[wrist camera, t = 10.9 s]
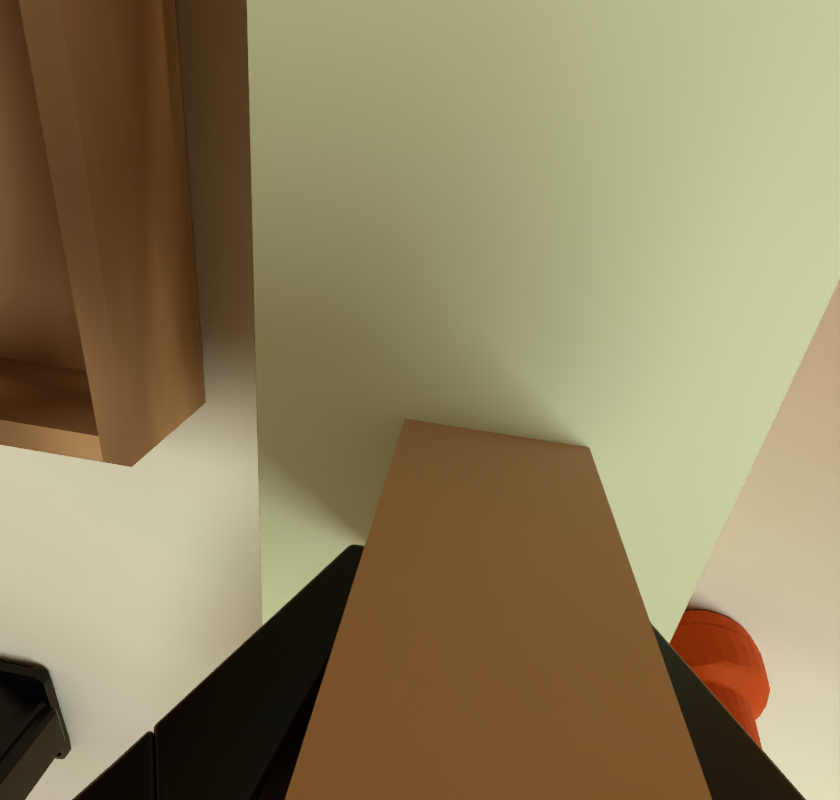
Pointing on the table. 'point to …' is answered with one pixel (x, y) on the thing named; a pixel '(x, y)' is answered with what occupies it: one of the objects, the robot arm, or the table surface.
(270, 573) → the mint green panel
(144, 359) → the tan wooden t-shaped piece
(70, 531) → the table surface
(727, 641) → the toy drill
